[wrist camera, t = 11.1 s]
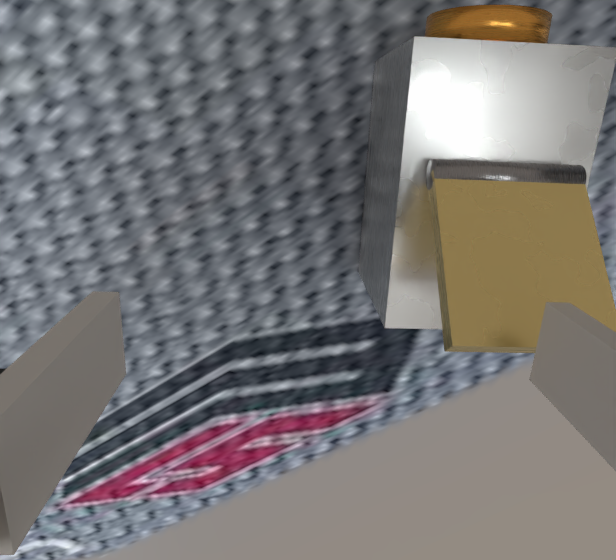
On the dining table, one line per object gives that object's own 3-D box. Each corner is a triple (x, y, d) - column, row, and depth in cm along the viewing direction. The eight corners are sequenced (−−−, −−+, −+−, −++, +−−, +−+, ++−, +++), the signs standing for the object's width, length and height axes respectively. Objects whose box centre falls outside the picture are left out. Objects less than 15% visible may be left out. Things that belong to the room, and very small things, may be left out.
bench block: (517, 69, 27) (618, 47, 19) (483, 275, 30) (555, 331, 22) (374, 61, 26) (414, 36, 18) (358, 271, 30) (384, 328, 22)
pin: (517, 31, 24) (578, 9, 19) (479, 267, 28) (521, 299, 23) (414, 26, 23) (448, 1, 19) (390, 264, 27) (412, 296, 22)
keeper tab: (565, 176, 20) (582, 158, 19) (606, 355, 17) (629, 348, 16) (424, 170, 20) (433, 152, 19) (442, 352, 17) (454, 344, 16)
